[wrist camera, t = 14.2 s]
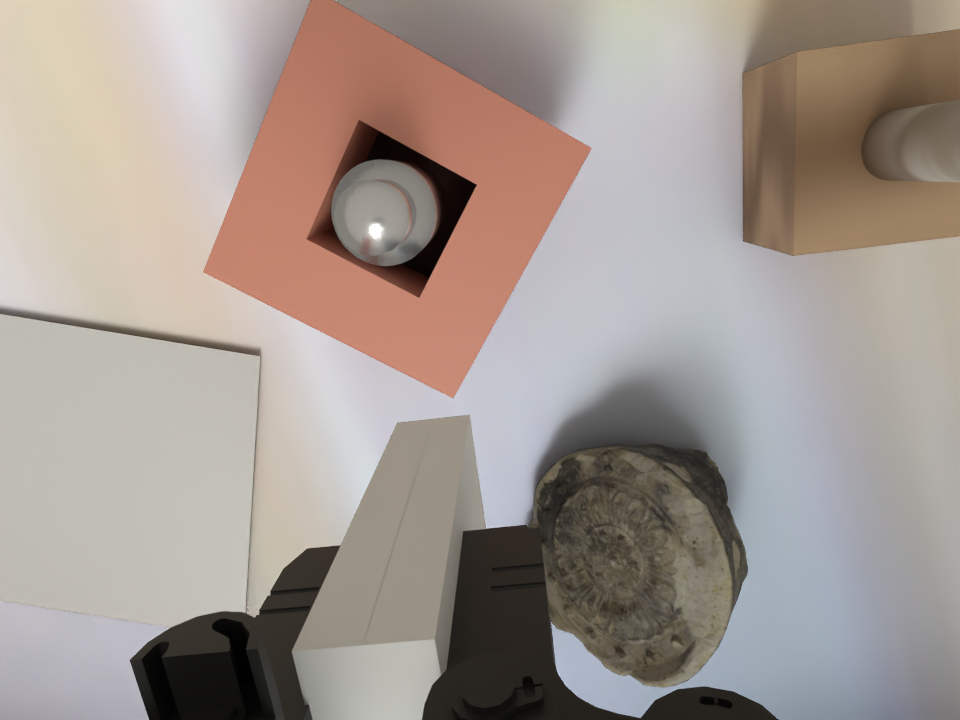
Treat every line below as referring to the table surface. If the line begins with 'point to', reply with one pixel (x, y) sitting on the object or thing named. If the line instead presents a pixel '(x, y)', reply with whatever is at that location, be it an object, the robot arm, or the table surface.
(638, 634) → the fossil
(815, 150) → the stand
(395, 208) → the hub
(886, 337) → the table surface
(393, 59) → the salmon square frame
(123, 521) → the paper stack
